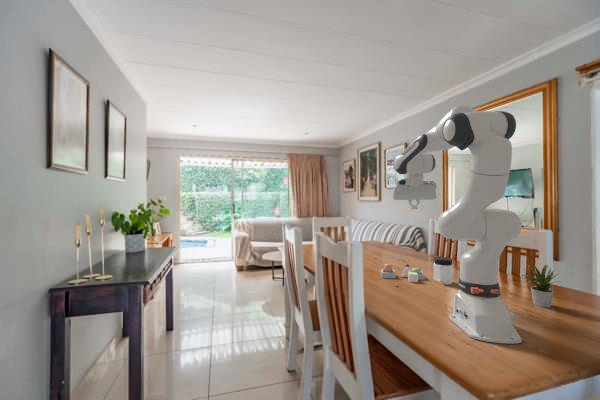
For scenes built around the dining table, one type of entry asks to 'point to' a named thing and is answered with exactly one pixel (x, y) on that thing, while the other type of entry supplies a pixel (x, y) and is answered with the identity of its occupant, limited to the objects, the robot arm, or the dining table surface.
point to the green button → (416, 270)
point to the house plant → (541, 287)
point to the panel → (393, 274)
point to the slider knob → (412, 276)
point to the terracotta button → (387, 267)
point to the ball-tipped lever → (404, 270)
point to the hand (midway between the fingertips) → (414, 209)
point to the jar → (443, 270)
